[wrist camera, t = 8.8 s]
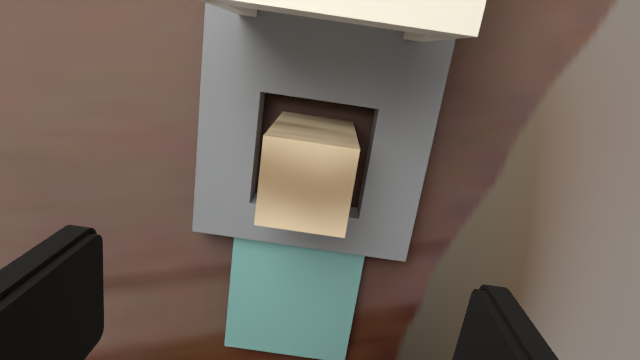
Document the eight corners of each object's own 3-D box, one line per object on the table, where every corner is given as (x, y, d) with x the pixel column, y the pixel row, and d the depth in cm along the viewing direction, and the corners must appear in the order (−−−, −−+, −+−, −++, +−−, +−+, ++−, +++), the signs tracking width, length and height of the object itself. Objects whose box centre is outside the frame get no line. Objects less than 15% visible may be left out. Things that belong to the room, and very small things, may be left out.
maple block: (341, 187, 29) (344, 238, 21) (275, 177, 28) (253, 225, 21) (352, 121, 27) (360, 149, 20) (283, 111, 27) (263, 135, 20)
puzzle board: (401, 248, 30) (405, 261, 28) (201, 219, 29) (192, 231, 28) (490, -159, 23) (504, -178, 21) (228, -200, 22) (218, -223, 20)
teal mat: (344, 355, 32) (344, 362, 32) (226, 338, 32) (224, 345, 32) (364, 249, 30) (365, 254, 29) (236, 231, 30) (234, 235, 29)
